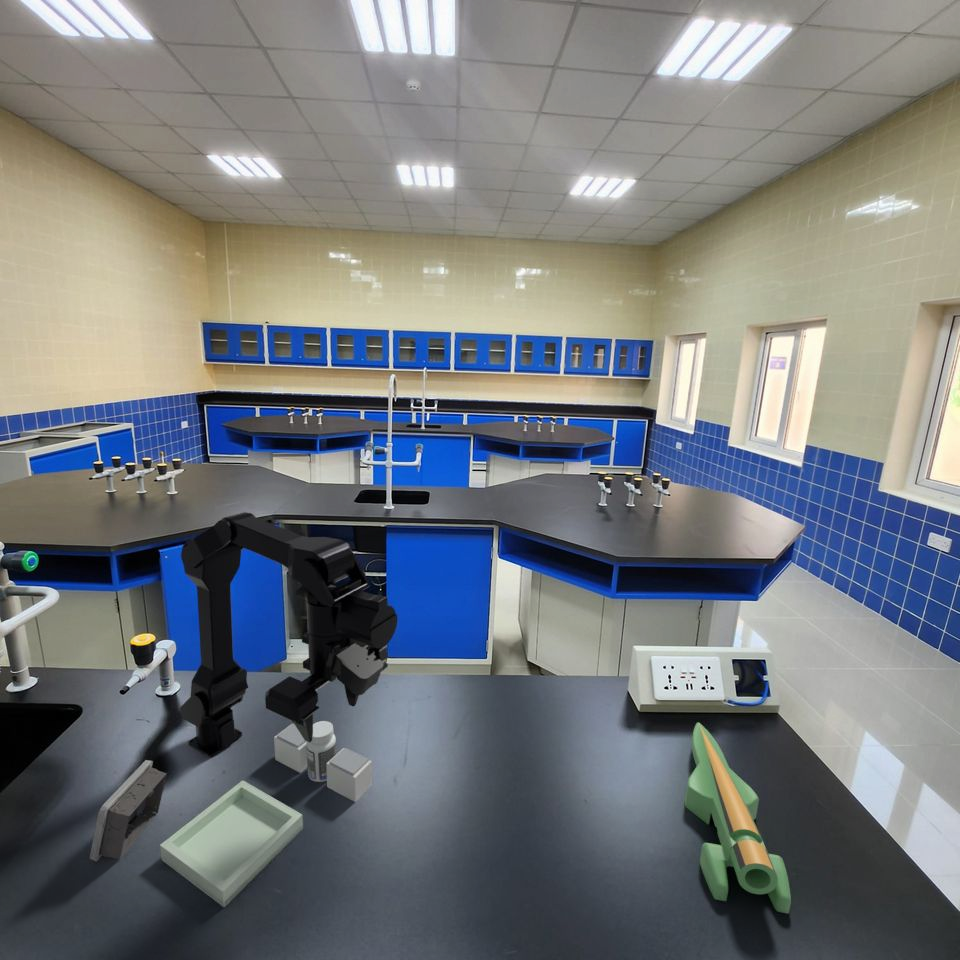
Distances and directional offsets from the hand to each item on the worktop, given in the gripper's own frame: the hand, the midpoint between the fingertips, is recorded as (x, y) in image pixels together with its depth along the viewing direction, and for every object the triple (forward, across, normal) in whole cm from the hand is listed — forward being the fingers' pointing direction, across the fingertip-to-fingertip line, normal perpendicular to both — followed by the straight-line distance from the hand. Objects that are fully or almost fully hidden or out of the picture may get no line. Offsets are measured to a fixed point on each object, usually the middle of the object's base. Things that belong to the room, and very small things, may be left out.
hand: (331, 722), depth 77 cm
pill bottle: (+15, +4, +6) cm, 17 cm away
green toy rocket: (+15, +30, -54) cm, 63 cm away
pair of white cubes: (+15, +4, +6) cm, 16 cm away
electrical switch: (+15, -18, +21) cm, 32 cm away
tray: (+15, -12, +7) cm, 20 cm away
